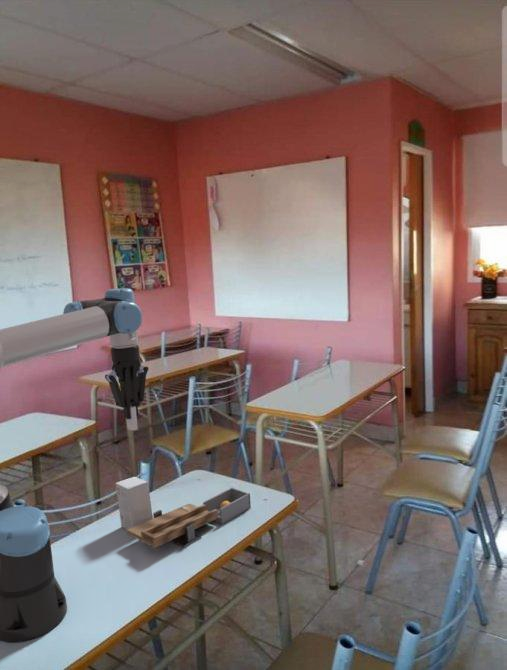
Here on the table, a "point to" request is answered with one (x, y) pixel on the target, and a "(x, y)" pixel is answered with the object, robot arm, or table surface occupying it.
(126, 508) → the small box
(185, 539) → the pivot bracket
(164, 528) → the seesaw
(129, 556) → the table surface
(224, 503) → the ball
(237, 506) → the tray
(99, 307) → the robot arm
